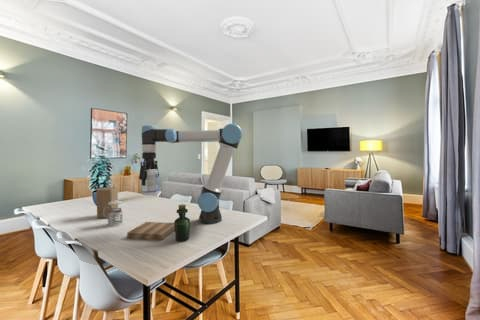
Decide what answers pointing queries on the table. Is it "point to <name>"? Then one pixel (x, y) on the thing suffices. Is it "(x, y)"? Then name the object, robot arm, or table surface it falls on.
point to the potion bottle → (182, 224)
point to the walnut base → (151, 231)
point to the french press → (116, 212)
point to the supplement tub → (151, 182)
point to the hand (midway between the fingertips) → (149, 189)
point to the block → (106, 200)
